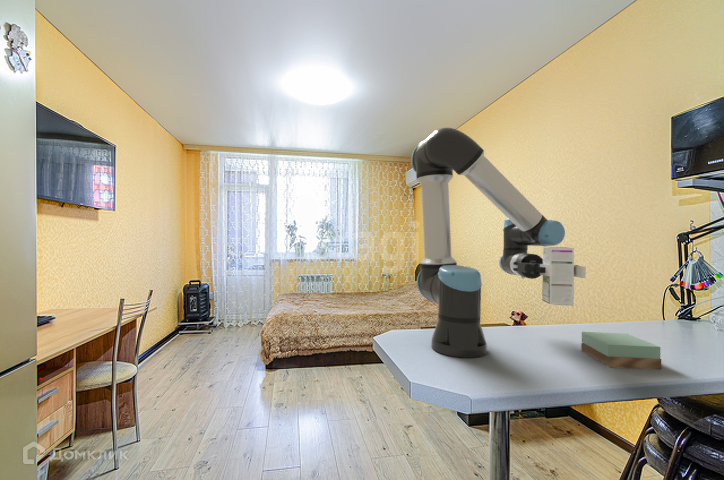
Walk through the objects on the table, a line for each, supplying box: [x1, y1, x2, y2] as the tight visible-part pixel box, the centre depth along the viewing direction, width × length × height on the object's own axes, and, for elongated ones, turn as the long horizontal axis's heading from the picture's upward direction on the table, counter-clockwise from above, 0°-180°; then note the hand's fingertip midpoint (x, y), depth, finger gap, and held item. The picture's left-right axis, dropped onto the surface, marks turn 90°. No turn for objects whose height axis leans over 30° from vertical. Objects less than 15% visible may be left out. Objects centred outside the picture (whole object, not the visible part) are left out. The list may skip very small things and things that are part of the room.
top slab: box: [581, 331, 661, 359], centre depth 88 cm, size 12×12×3 cm
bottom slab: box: [580, 342, 662, 370], centre depth 88 cm, size 12×12×3 cm
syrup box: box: [541, 246, 575, 307], centre depth 85 cm, size 6×6×14 cm
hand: (568, 271), depth 80 cm, fingers closed on syrup box, 6 cm apart
